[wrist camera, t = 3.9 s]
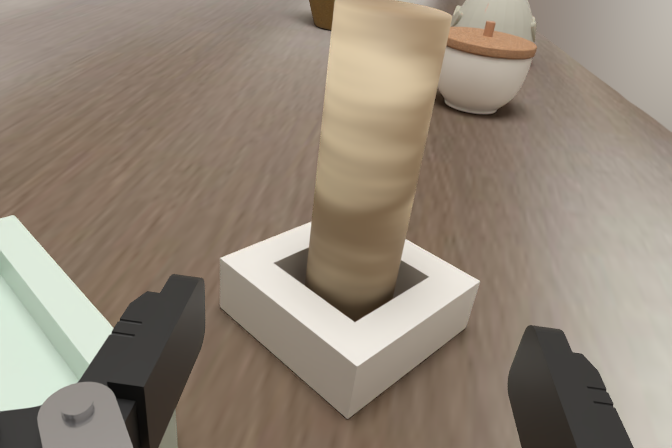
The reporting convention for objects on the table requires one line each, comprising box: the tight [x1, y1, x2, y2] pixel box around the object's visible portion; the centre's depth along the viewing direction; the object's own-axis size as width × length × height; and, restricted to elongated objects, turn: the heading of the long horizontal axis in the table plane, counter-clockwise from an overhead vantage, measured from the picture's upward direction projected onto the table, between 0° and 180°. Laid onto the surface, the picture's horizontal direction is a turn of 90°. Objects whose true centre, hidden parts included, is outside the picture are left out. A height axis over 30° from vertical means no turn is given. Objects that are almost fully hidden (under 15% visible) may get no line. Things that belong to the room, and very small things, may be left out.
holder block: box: [220, 222, 480, 419], centre depth 27 cm, size 9×9×3 cm
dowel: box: [305, 0, 452, 322], centre depth 24 cm, size 4×4×15 cm
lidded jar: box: [438, 21, 537, 114], centre depth 60 cm, size 11×11×9 cm
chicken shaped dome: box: [450, 0, 537, 42], centre depth 83 cm, size 14×14×15 cm
